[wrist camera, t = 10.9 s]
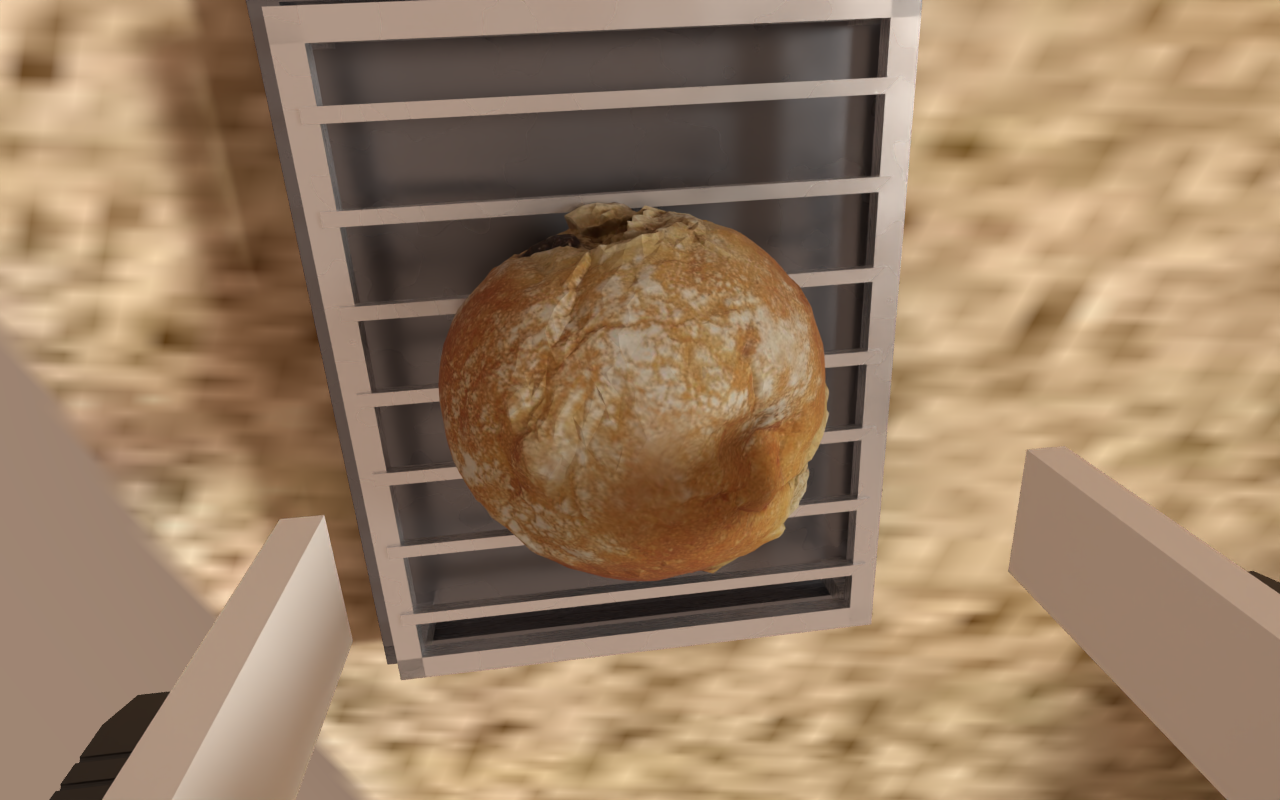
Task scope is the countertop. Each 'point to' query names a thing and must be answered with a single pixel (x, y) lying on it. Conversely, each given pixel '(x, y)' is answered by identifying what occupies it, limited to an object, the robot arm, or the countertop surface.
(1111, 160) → the countertop surface
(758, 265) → the bread roll
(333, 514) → the countertop surface
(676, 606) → the cooling rack
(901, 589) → the countertop surface
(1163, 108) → the countertop surface
